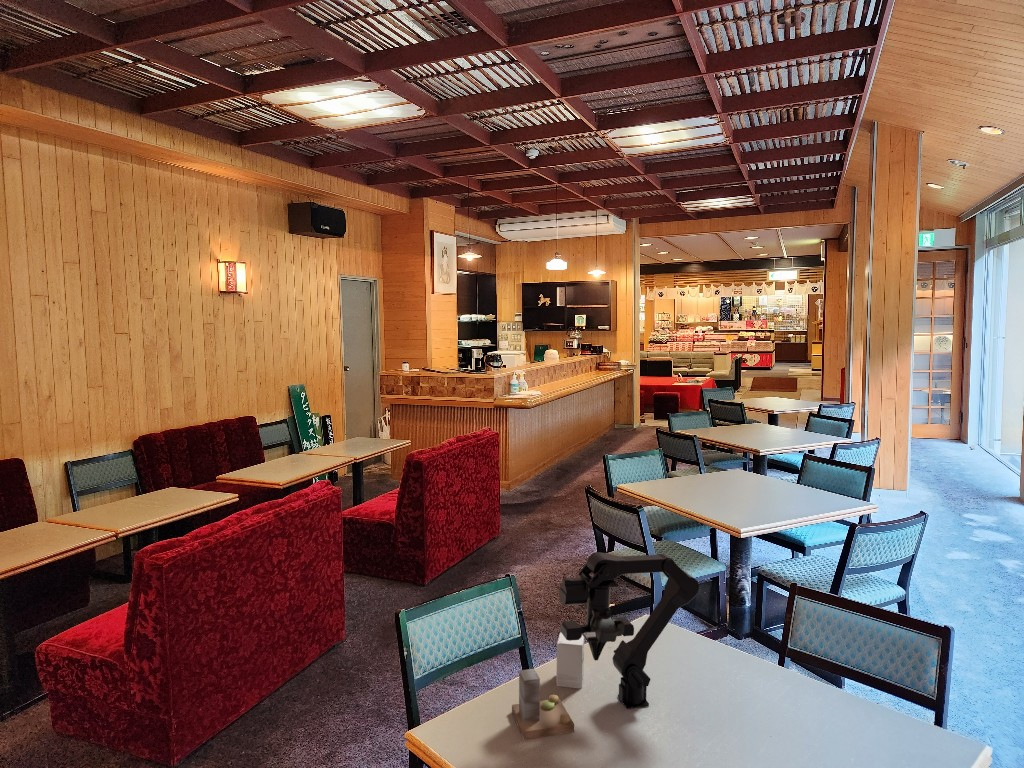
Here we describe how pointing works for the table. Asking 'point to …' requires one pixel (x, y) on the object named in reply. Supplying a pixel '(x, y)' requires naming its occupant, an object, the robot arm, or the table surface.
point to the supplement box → (570, 662)
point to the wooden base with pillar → (539, 710)
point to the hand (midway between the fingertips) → (595, 659)
